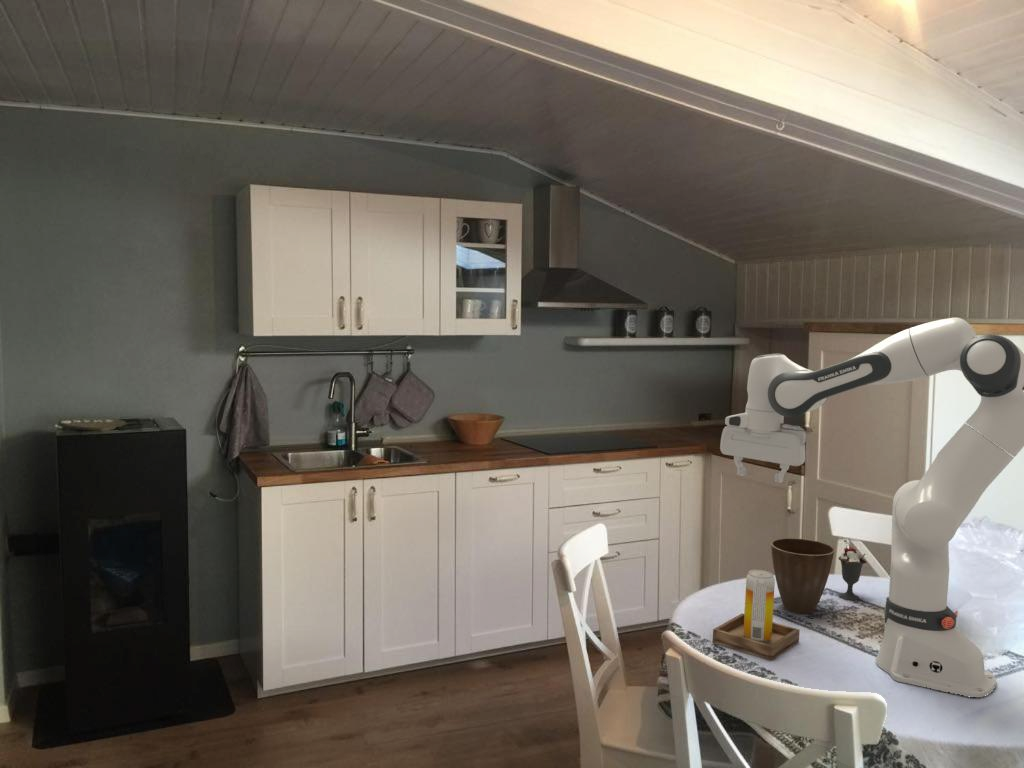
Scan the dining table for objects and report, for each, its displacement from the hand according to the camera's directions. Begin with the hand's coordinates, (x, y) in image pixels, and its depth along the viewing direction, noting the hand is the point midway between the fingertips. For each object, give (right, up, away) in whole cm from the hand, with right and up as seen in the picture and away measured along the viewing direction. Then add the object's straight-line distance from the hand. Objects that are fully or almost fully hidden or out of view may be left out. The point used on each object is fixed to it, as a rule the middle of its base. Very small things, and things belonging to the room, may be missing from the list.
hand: (759, 478), depth 206 cm
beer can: (-4, -35, -13) cm, 37 cm away
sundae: (+29, -33, +19) cm, 48 cm away
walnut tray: (-5, -35, -13) cm, 38 cm away
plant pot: (+12, -34, +10) cm, 37 cm away
